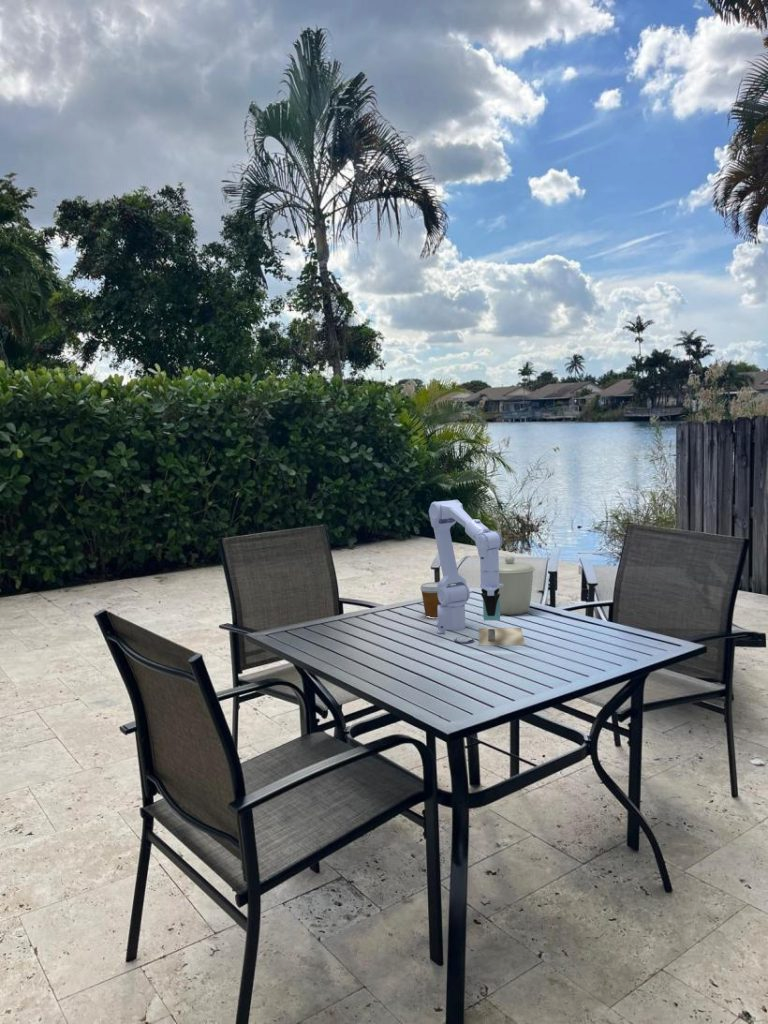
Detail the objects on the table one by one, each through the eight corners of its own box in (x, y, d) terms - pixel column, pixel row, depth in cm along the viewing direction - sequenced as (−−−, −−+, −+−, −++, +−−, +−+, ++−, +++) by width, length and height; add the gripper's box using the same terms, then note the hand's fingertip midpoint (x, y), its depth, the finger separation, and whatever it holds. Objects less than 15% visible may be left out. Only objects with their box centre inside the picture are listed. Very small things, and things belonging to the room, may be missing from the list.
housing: (483, 620, 225) (483, 601, 225) (483, 616, 230) (482, 597, 229) (500, 620, 225) (499, 601, 224) (499, 616, 229) (498, 597, 229)
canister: (522, 620, 256) (520, 561, 254) (477, 614, 267) (475, 557, 265) (544, 609, 270) (543, 553, 268) (500, 604, 281) (499, 550, 279)
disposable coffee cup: (418, 615, 270) (417, 583, 269) (443, 612, 272) (442, 581, 270) (424, 621, 261) (423, 588, 260) (450, 618, 262) (449, 586, 261)
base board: (479, 649, 224) (478, 634, 223) (478, 631, 243) (478, 618, 243) (525, 648, 222) (525, 633, 221) (521, 631, 242) (520, 617, 241)
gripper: (503, 574, 218) (504, 619, 219) (501, 566, 232) (503, 607, 234) (479, 575, 219) (481, 619, 220) (479, 566, 233) (480, 608, 235)
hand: (490, 613), depth 227 cm, fingers closed on housing, 5 cm apart
